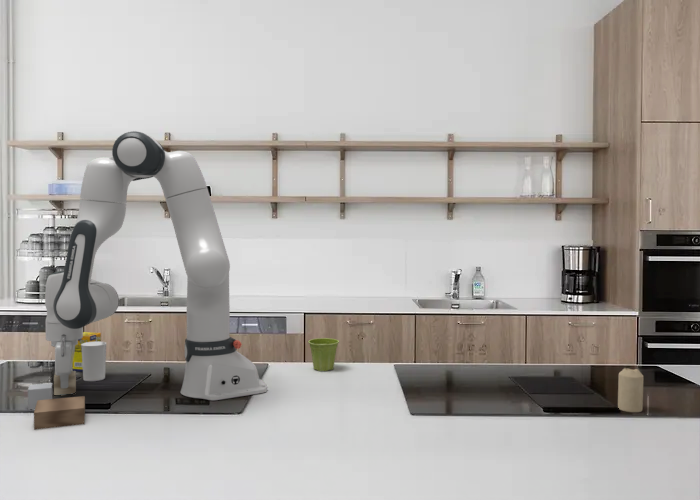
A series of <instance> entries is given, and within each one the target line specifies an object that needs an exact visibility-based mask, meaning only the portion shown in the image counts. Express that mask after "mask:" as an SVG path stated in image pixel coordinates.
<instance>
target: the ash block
mask: <svg viewBox="0 0 700 500" xmlns="http://www.w3.org/2000/svg"><path fill="white" fill-rule="evenodd" d="M76 377H77V371H73V370H71V374H69V379H68V388H63V389H62V388H61V382H60V375H56V374H55V373H54V375H53V396H54V395H60V394H71V393H75V392H76V391H77V378H76ZM76 393H77V392H76ZM76 393H75V394H76Z"/></svg>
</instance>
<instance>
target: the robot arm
mask: <svg viewBox="0 0 700 500" xmlns="http://www.w3.org/2000/svg"><path fill="white" fill-rule="evenodd" d="M111 154H112V155H111V157H106V156H105V157H103V156H101V157H97V158H93V159H91V160H90V161H89V162H87V165H86V168H85V171H84V174H83V177H82V182H81V188H80V196H79V208H78V213H77V218H76V221H75V224H74V226H73V229H72V231H71V234H70V239H69V242H68V248H67V252H66V258H65V259H66V260H65V265H64V269H63V270H61V271H55V272H52V273H51V274H49V275H48V277H47V279H46V282H45V291H44V293H45V295H44V296H45V297H44V304H45V305H44V307H45V310H46V317H45V340H46V341H48V342H50V343H51V344H50V346H51V347H54V374H56V375H60V382H61V388H62V389H63V388H68V379H69V374H71V371H73V358H74V352H75V345H77V344H78V339H81V338H83V332H84V329H83V328H84V327H85V326H88V325H90V324H92V323H96V322H99V321H102V320H104V319H107V318H109V317H111V316H113V315H114V314H115V313H116V312H117V310H118V308H119V302H120V298H119V294H118V292H117V290H116V289H115V287H114V286H112V285H111V284H109V283H104V282H100V281H97V280H94V279H92V273H93V268H94V264H95V263H94V262H95V259H96V258H95V256H96V254H97V252H98V250H99V248H100V247H101V246H102V244H103V243H105V241H107V240H108V239H109V238H111V237H113V236H114V235H115V234H116V233H118V232H119V231H120V230H121V229H122V227H123V224H124V222H125V218H126V214H127V213H126V212H127V199H128V198H127V197H128V189H129V186H130V183H131V182H135V181H140V180H145V179H147V180H148V179H151V178H155V179H156V180H157V181H158V183H159V185H160V187H161V190H162V192H163V196H164V199H165V203H166V206H167V209H168V213H169V216H170V219H171V222H172V223H171V224H172V227H173V229H174V232H175V238H176V240H177V245H178V247H179V251H180V255H181V260H182V263H183V267H184V270H185V273H186V276H187V278H186V279H187V281H186V282H187V288H186V338H185V339H184V340H185V341H184V358H185V369H184V376H183V381H182V386H181V389H180V394H181V395H183V396H184V397H188V398H193V399H203V400H208V401H218V400H227V399H232V398H239V397H244V396H250V395H257V394H263V393H266V392H267V391H268V384H267V383H266V382H265V381H264V380H262V379H261V378H260V377H259V371H258V368H257V366H256V365H255V363H254V362H253V361H251V360H250V359H249V358H248V357H246V356H245V355H243V354H242V353H241V352H239V351H237V350H239V349H241V347H242V345H243V344H242V342H241V341H240V340H239V339H236V338H233V337H231V336H230V331H231V330H230V329H231V328H230V327H231V326H230V322H231V321H230V317H231V316H230V313H231V312H230V311H231V310H230V309H231V308H230V306H231V305H230V270H231V264H230V260H229V255H228V253H227V249H226V246H225V242H224V239H223V235H222V232H221V230H220V226H219V223H218V219H217V216H216V213H215V209H214V206H213V202H212V200H211V196H210V192H209V189H208V185H207V183H206V181H205V177H204V175H203V171H202V170H201V168H200V166H199V164H198V162H197V160H196V158H195V156H194V155H193V154H192V153H190V152H189V151H184V150H176V151H175V150H174V151H170V152H169V151H166V150H165V149H164V147H163V145H162V144H160V142H159V141H157V140H156V139H155V138H154V137H153V136H151V135H149V134H146V133H143V132H141V131H136V130H135V131H134V130H133V131H128V132H124V133H123V134H121V135H120V136H119V137H117V138H116V140H115V141H114V142H113V145H112V150H111Z"/></svg>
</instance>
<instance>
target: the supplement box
mask: <svg viewBox="0 0 700 500" xmlns="http://www.w3.org/2000/svg"><path fill="white" fill-rule="evenodd" d="M86 342H102V332H89V331H88V332H87V331H83V338H81V339H78V344H77V345H75V352H74V358H73V364H72V371H76V373H77V372H79V373H83V363H82V347H81V344H83V343H86Z"/></svg>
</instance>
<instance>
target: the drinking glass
mask: <svg viewBox="0 0 700 500" xmlns="http://www.w3.org/2000/svg"><path fill="white" fill-rule="evenodd" d="M81 347H82V363H83V372H82V377H83V381H85V382H96V381H102V380H104V379H106V362H107V357H106V356H107V342H105V341H101V342H86V343H83V344H81Z"/></svg>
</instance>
